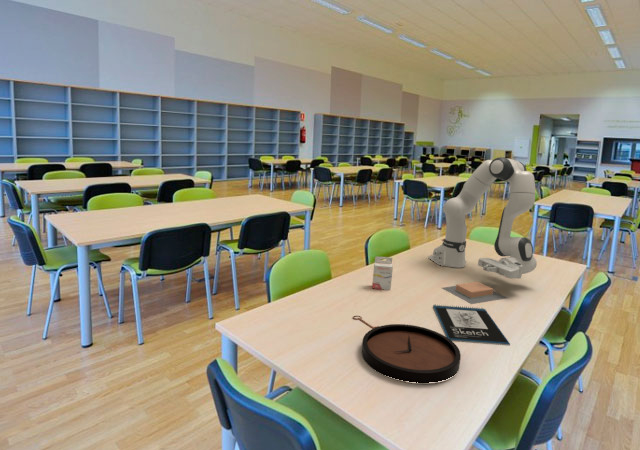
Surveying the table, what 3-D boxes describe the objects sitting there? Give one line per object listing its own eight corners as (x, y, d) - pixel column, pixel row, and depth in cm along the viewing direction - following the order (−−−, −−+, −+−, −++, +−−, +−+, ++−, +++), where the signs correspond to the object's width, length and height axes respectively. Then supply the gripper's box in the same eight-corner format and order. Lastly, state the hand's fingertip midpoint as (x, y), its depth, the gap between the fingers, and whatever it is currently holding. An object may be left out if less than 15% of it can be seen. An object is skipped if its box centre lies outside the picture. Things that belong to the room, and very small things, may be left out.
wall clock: (435, 386, 114) (343, 346, 133) (433, 399, 115) (342, 357, 134) (475, 345, 138) (392, 316, 157) (473, 355, 139) (391, 326, 158)
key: (387, 332, 154) (362, 316, 166) (387, 329, 153) (362, 313, 166) (375, 334, 150) (350, 317, 163) (375, 331, 150) (351, 315, 163)
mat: (441, 289, 198) (441, 287, 197) (476, 284, 206) (476, 282, 206) (471, 305, 180) (471, 304, 180) (508, 299, 188) (508, 297, 188)
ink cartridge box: (372, 289, 194) (374, 259, 190) (372, 285, 198) (374, 255, 195) (390, 290, 193) (393, 260, 190) (390, 286, 198) (392, 257, 194)
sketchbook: (447, 342, 148) (448, 337, 147) (432, 307, 177) (432, 303, 177) (509, 346, 146) (510, 341, 146) (483, 311, 176) (484, 306, 175)
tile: (476, 287, 200) (455, 290, 195) (477, 281, 199) (456, 284, 194) (492, 295, 191) (470, 298, 186) (493, 289, 190) (471, 292, 185)
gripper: (491, 254, 207) (470, 256, 201) (525, 266, 188) (503, 269, 183) (489, 266, 208) (468, 268, 203) (523, 279, 190) (501, 282, 184)
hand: (485, 269), depth 193 cm, fingers closed
